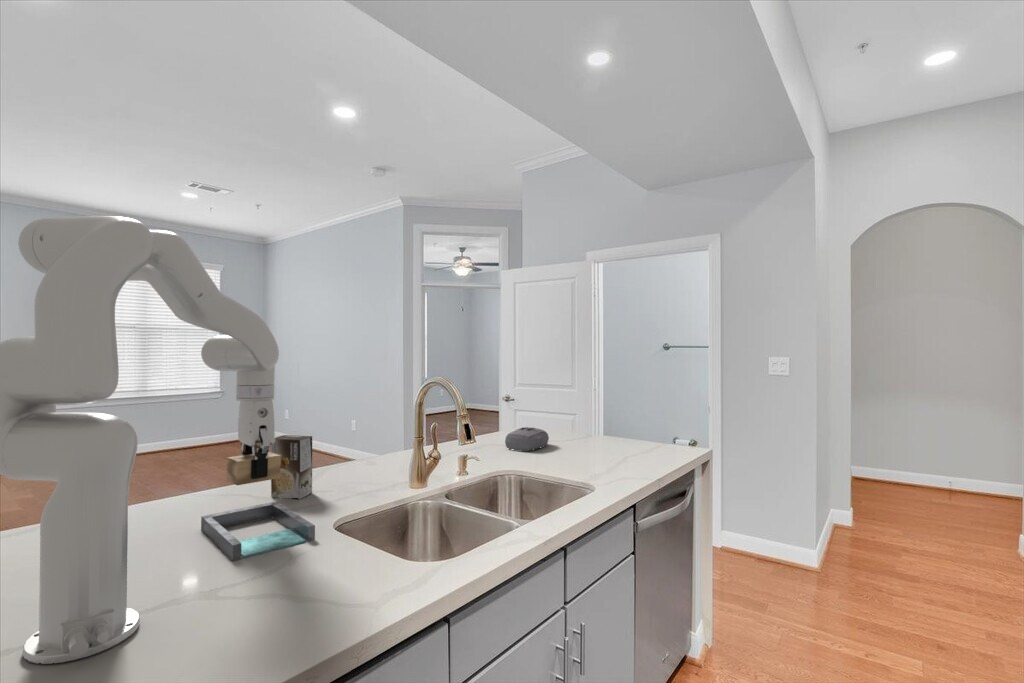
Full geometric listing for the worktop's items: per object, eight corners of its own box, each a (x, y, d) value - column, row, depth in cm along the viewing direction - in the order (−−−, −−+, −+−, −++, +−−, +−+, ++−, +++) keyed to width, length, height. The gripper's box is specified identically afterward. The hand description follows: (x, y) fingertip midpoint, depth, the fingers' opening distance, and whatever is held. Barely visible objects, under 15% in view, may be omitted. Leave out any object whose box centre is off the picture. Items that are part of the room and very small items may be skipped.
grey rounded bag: (532, 453, 199) (555, 445, 216) (532, 432, 199) (555, 425, 216) (499, 449, 207) (524, 441, 224) (499, 428, 207) (524, 422, 224)
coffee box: (313, 493, 144) (314, 435, 144) (300, 499, 138) (300, 439, 138) (283, 491, 146) (284, 434, 146) (269, 497, 139) (270, 438, 140)
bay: (314, 539, 110) (315, 525, 110) (232, 561, 99) (232, 545, 99) (275, 513, 126) (275, 501, 126) (201, 529, 115) (201, 516, 115)
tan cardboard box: (280, 478, 114) (280, 455, 115) (237, 485, 108) (237, 461, 108) (268, 473, 118) (269, 451, 119) (226, 480, 112) (226, 457, 112)
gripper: (287, 394, 110) (286, 479, 110) (259, 390, 122) (258, 466, 122) (250, 396, 105) (248, 485, 104) (225, 391, 117) (223, 471, 117)
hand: (253, 474), depth 113 cm, fingers closed on tan cardboard box, 6 cm apart
